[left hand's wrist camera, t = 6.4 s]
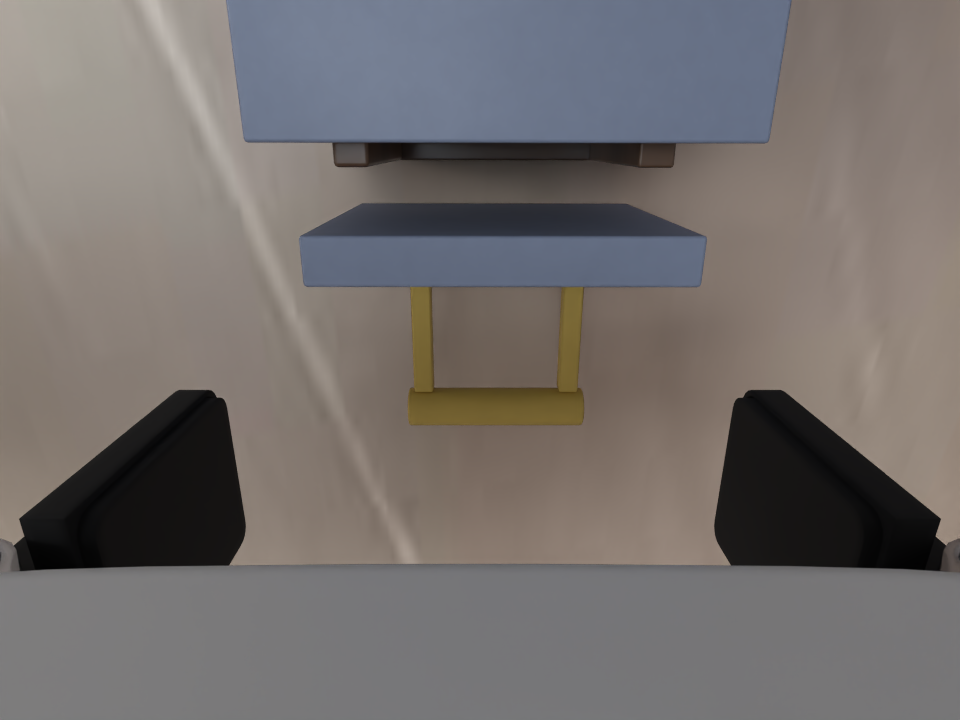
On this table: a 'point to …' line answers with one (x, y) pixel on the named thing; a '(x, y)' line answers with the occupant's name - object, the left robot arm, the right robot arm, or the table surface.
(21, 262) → the table surface
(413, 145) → the drawer
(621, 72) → the cabinet
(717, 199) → the table surface
